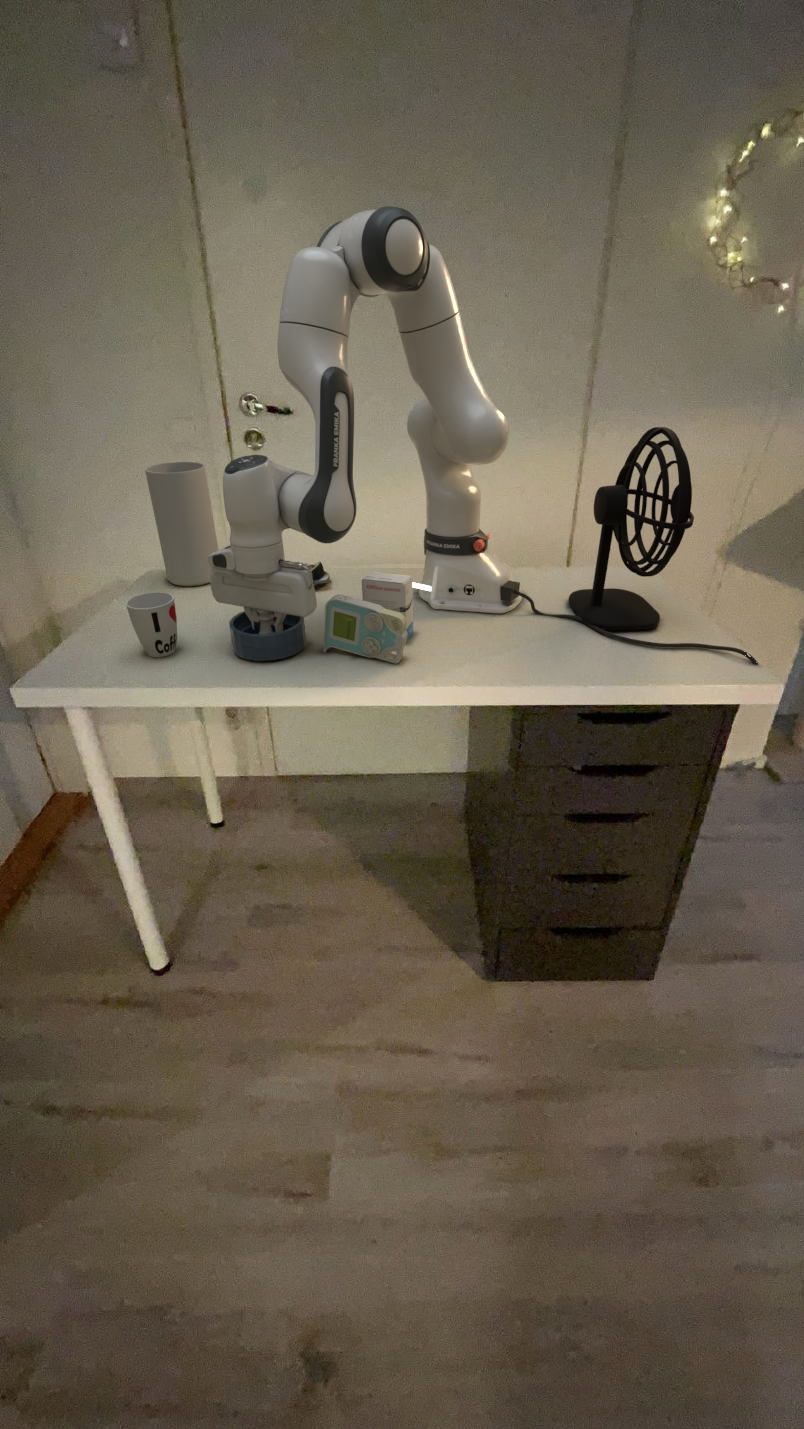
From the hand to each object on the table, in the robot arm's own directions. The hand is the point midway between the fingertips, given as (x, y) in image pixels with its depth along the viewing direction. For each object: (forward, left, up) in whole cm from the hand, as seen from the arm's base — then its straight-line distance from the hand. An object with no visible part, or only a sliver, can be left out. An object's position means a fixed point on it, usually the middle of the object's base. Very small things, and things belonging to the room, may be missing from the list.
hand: (268, 630), depth 120 cm
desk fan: (-57, -41, -4) cm, 70 cm away
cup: (+18, +9, -4) cm, 20 cm away
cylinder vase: (+38, -25, -4) cm, 46 cm away
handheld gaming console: (-18, -3, -4) cm, 19 cm away
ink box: (-18, -13, -4) cm, 23 cm away
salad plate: (+14, -31, -4) cm, 35 cm away
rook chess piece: (0, 0, -3) cm, 3 cm away
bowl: (0, 0, -3) cm, 3 cm away
